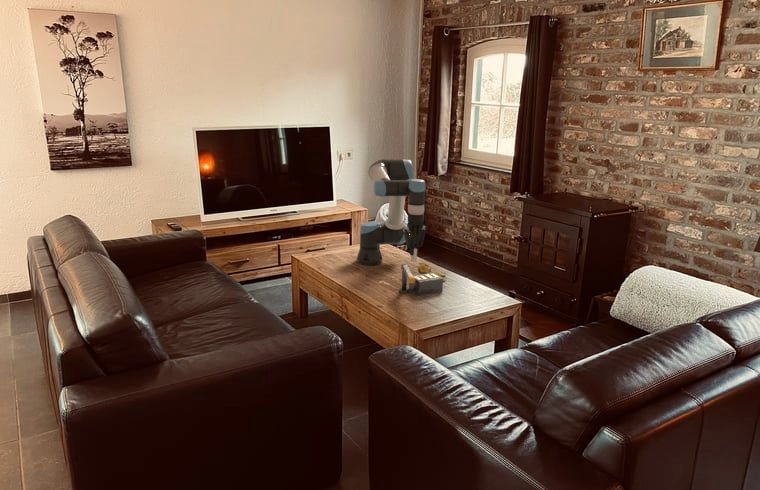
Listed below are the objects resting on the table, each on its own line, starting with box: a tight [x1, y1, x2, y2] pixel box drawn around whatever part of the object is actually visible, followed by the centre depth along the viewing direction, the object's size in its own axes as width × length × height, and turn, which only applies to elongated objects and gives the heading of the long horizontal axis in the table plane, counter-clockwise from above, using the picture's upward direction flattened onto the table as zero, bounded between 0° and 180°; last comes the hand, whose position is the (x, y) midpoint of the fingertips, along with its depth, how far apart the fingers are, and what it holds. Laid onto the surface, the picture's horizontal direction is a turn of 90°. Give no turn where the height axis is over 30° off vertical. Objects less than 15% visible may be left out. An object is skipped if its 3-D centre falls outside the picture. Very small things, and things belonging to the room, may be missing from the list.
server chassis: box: [408, 272, 444, 296], centre depth 296 cm, size 10×14×8 cm
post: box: [398, 269, 410, 294], centre depth 293 cm, size 5×5×11 cm
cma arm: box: [400, 263, 415, 284], centre depth 282 cm, size 4×23×2 cm, turn 7°
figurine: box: [417, 262, 446, 282], centre depth 316 cm, size 12×9×15 cm
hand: (413, 261), depth 277 cm, fingers closed
